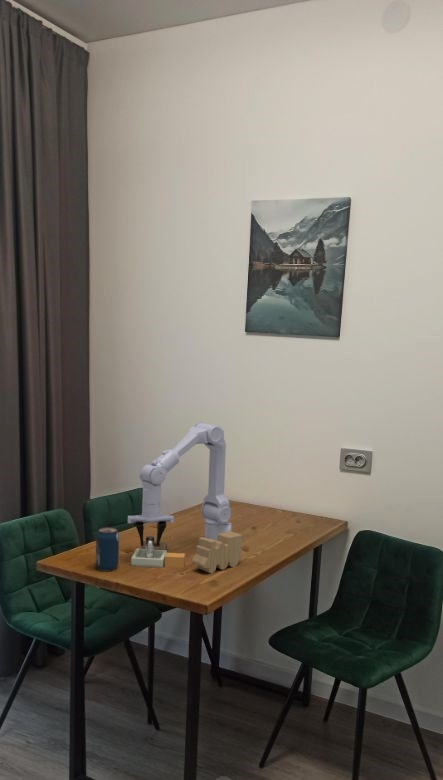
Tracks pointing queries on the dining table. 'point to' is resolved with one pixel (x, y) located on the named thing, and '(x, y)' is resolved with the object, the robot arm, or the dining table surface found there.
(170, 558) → the block
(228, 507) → the robot arm
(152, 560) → the tray
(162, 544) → the socket block
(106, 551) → the soda can
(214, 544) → the toy train
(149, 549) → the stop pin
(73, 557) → the dining table surface
